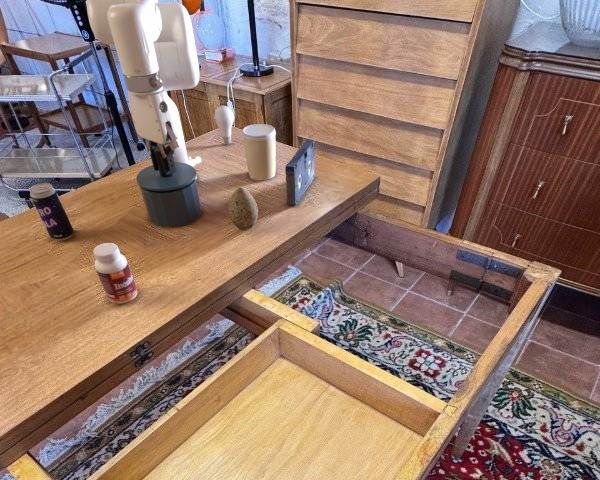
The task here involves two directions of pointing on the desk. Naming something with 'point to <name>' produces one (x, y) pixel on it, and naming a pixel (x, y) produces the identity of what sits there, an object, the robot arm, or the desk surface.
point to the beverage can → (51, 211)
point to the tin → (173, 205)
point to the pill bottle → (114, 273)
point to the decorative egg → (243, 209)
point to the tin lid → (162, 181)
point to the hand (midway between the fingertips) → (165, 169)
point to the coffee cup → (260, 150)
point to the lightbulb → (224, 122)
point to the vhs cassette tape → (300, 172)
